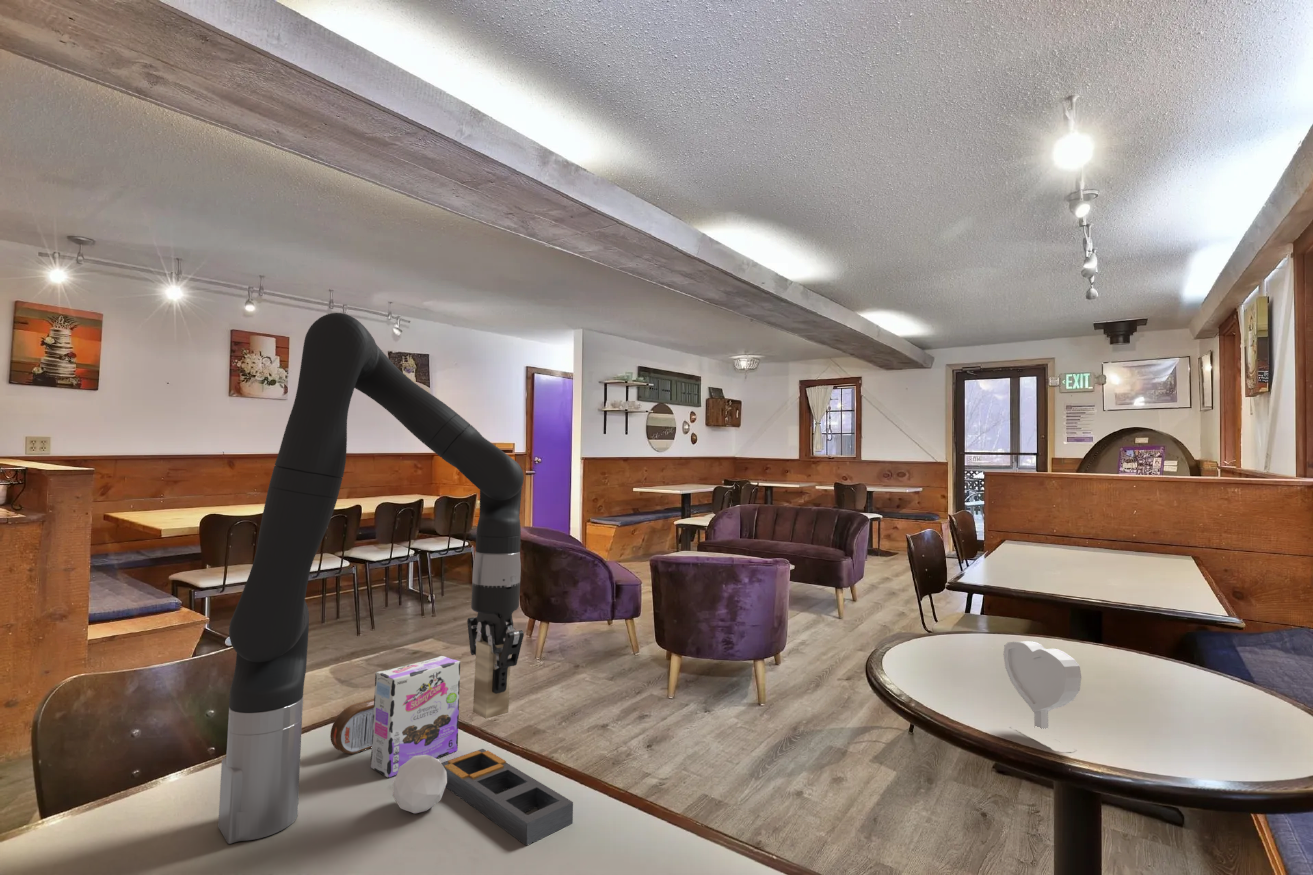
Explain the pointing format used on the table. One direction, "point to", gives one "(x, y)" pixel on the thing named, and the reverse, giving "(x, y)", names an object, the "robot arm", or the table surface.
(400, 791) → the geometric ball
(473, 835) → the table surface
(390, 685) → the candy box
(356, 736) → the tin
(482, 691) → the birch peg
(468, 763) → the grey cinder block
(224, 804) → the robot arm
